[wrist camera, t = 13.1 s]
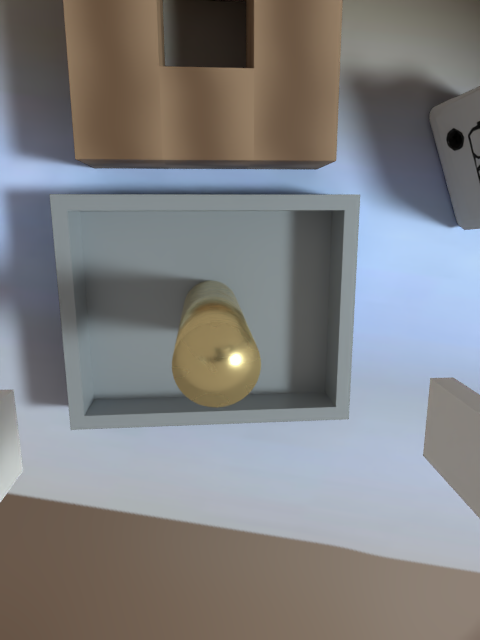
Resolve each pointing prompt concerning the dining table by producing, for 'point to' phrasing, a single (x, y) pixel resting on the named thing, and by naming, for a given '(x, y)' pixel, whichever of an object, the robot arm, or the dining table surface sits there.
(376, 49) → the dining table surface
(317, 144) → the block
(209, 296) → the pin
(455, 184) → the electrical switch
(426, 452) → the robot arm
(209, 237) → the tray
